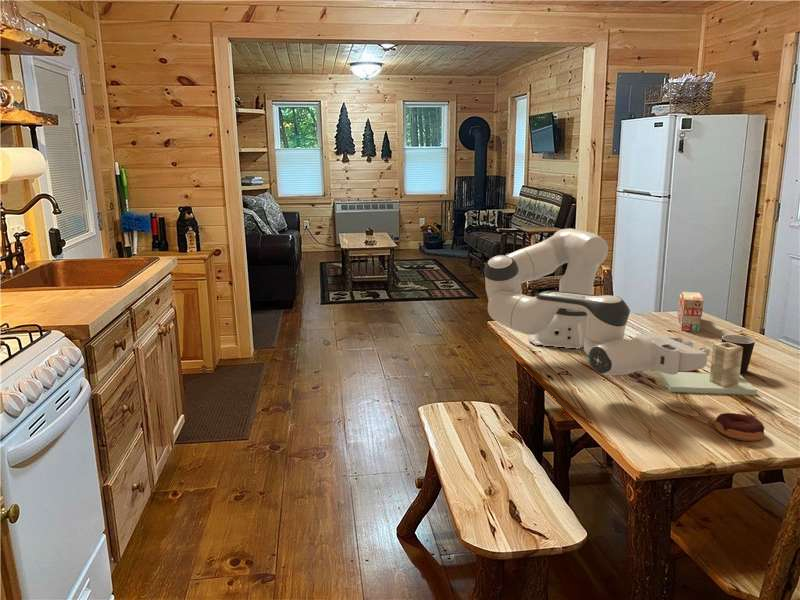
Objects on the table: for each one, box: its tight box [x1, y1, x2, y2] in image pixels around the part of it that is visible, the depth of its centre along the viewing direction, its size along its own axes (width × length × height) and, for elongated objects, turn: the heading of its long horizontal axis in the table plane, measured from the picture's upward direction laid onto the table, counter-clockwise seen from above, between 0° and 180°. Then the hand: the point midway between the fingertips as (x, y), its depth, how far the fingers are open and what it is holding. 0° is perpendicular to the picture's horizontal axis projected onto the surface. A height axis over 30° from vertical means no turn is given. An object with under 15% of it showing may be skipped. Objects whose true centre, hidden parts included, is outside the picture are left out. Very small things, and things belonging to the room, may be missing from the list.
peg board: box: [657, 371, 758, 396], centre depth 165 cm, size 22×12×2 cm, turn 82°
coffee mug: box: [721, 334, 756, 376], centre depth 176 cm, size 12×9×10 cm
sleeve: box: [709, 342, 743, 388], centre depth 161 cm, size 5×5×11 cm
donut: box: [714, 412, 766, 442], centre depth 137 cm, size 10×10×4 cm
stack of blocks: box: [677, 291, 704, 333], centre depth 223 cm, size 21×6×12 cm, turn 159°
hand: (693, 345), depth 156 cm, fingers open, 8 cm apart
